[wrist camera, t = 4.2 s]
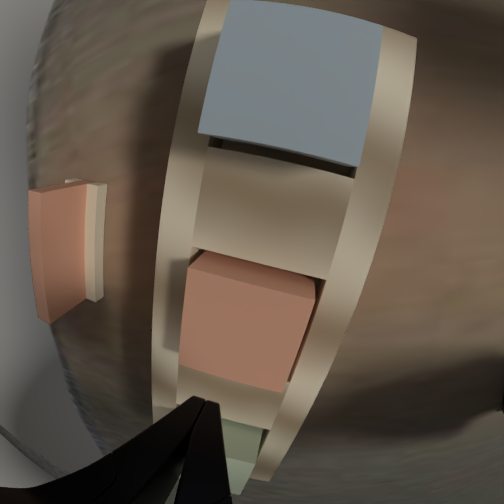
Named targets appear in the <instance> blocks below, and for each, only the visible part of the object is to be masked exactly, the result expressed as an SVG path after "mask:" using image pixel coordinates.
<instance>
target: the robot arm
mask: <svg viewBox="0 0 504 504" xmlns="http://www.w3.org/2000/svg"><path fill="white" fill-rule="evenodd" d="M502 412H503V413H504V399H503V407H502ZM180 474H181V476H180ZM179 476H180V480H179V485H178V489H177V493H176V497H175V501H174V504H232V497H231V496H230V495H231V492H230V484H229V477H228V470H227V462H226V454H225V446H224V438H223V429H222V420H221V411H220V404H219V403H217V402H214V401H211V400H205V399H204V398H201V397H198V396H191V397H190V398H189V399H187V400H186V401H185V402H183V403H182V404H180V405H179V406H178V407H176V408H175V409H174V410H172V411H171V412H170V413H168V414H167V415H165V416H164V417H163V418H161V419H160V420H158V421H157V422H155V423H154V424H153V425H151V426H150V427H148V428H147V429H145V430H144V431H143V432H141V433H140V434H138V435H137V436H135V437H134V438H132V439H131V440H129V441H128V442H126V443H125V444H123V445H122V446H120V447H119V448H117V449H115V450H114V451H113V452H112V453H109V454H107V455H106V456H104V457H103V458H101V459H100V460H98V461H96V462H94V463H92V464H91V465H89V466H87V467H85V468H83V469H80V470H78V471H76V472H74V473H71V474H69V475H66V476H64V477H61V478H59V479H56V480H53V481H51V482H48V483H45V484H42V485H39V486H36V487H31V488H8V487H0V504H164V503H165V502H166V500H167V498H168V496H169V494H170V493H171V491H172V489H173V487H174V485H175V484H176V482H177V480H178V478H179Z"/></svg>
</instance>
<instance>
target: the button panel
mask: <svg viewBox="0 0 504 504" xmlns="http://www.w3.org/2000/svg"><path fill="white" fill-rule="evenodd" d="M254 1H255V0H254ZM266 2H267V1H266ZM229 4H230V0H207V2H206V5H205V9H204V12H203V15H202V18H201V21H200V25H199V28H198V31H197V35H196V38H195V42H194V46H193V49H192V53H191V57H190V61H189V64H188V68H187V72H186V77H185V81H184V85H183V89H182V94H181V98H180V103H179V107H178V112H177V117H176V122H175V127H174V132H173V138H172V143H171V149H170V155H169V161H168V167H167V173H166V180H165V186H164V194H163V201H162V209H161V217H160V226H159V235H158V245H157V255H156V267H155V281H154V297H153V318H152V411H153V424H154V423H155V422H157V421H158V420H160V419H161V418H163V417H164V416H165V415H167V414H168V413H170V412H171V411H172V410H174V409H175V408H176V407H178V406H179V405H180V404H182V403H183V402H185V401H186V400H187V399H189V398H190V397H191V396H198V397H201V398H204V399H205V400H211V401H214V402H217V403H219V404H220V411H221V418H224V419H228V420H231V421H235V422H239V423H243V424H247V425H251V426H255V427H259V428H263V431H262V435H261V440H260V445H259V450H258V455H257V459H256V464H255V466H254V468H253V470H252V472H251V474H250V476H249V478H253V479H258V480H263V481H269V480H270V479H271V477H272V476H273V474H274V472H275V471H276V469H277V468H278V466H279V464H280V463H281V461H282V459H283V458H284V456H285V454H286V452H287V451H288V449H289V447H290V445H291V444H292V442H293V440H294V438H295V437H296V435H297V433H298V431H299V429H300V428H301V426H302V424H303V422H304V420H305V418H306V416H307V414H308V412H309V410H310V409H311V407H312V405H313V403H314V401H315V399H316V397H317V395H318V393H319V390H320V388H321V386H322V384H323V382H324V380H325V378H326V376H327V374H328V371H329V369H330V367H331V365H332V363H333V360H334V358H335V356H336V354H337V351H338V349H339V347H340V344H341V342H342V340H343V337H344V335H345V332H346V330H347V328H348V325H349V323H350V320H351V318H352V315H353V312H354V310H355V307H356V305H357V302H358V299H359V297H360V294H361V291H362V288H363V286H364V283H365V280H366V277H367V274H368V271H369V268H370V265H371V262H372V259H373V256H374V253H375V250H376V247H377V244H378V240H379V237H380V234H381V230H382V227H383V224H384V220H385V217H386V213H387V209H388V206H389V202H390V198H391V194H392V190H393V186H394V182H395V178H396V174H397V169H398V165H399V161H400V156H401V151H402V146H403V141H404V136H405V131H406V125H407V119H408V113H409V107H410V101H411V94H412V86H413V78H414V70H415V60H416V48H417V38H415V37H413V36H410V35H407V34H405V33H402V32H399V31H397V30H394V29H391V28H388V27H385V26H383V31H382V40H381V48H380V56H379V63H378V70H377V77H376V83H375V89H374V95H373V101H372V106H371V112H370V117H369V122H368V128H367V133H366V137H365V142H364V147H363V152H362V156H361V161H360V165H359V167H350V166H343V165H339V164H336V163H332V162H328V161H324V160H320V159H316V158H312V157H308V156H304V155H300V154H295V153H291V152H287V151H282V150H277V149H273V148H268V147H263V146H258V145H253V144H247V143H242V142H236V141H230V140H224V139H220V138H216V137H212V136H208V135H204V134H200V133H198V128H199V123H200V118H201V114H202V109H203V104H204V100H205V95H206V91H207V86H208V82H209V78H210V74H211V70H212V65H213V61H214V57H215V54H216V50H217V46H218V42H219V38H220V35H221V31H222V27H223V24H224V20H225V17H226V14H227V10H228V7H229ZM291 5H292V4H291ZM304 7H305V6H304ZM372 23H373V22H372ZM206 250H209V251H212V252H216V253H220V254H224V255H228V256H232V257H236V258H240V259H244V260H248V261H252V262H256V263H260V264H264V265H268V266H272V267H276V268H280V269H284V270H288V271H292V272H296V273H300V274H304V275H308V276H312V277H314V284H315V303H314V306H313V309H312V312H311V315H310V318H309V321H308V324H307V327H306V330H305V333H304V336H303V339H302V341H301V344H300V347H299V350H298V353H297V355H296V358H295V361H294V363H293V366H292V369H291V371H290V374H289V377H288V379H287V382H286V384H285V387H284V390H283V392H282V393H280V392H276V391H271V390H267V389H263V388H259V387H255V386H251V385H247V384H243V383H239V382H236V381H232V380H228V379H225V378H221V377H218V376H215V375H211V374H208V373H205V372H201V371H198V370H195V369H192V368H189V367H186V366H183V365H180V364H178V358H179V346H180V335H181V324H182V314H183V305H184V296H185V287H186V278H187V270H188V267H189V266H190V265H191V264H192V263H193V262H194V261H195V260H196V259H197V258H198V257H200V256H201V255H202V254H203V253H204V252H205V251H206Z"/></svg>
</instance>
